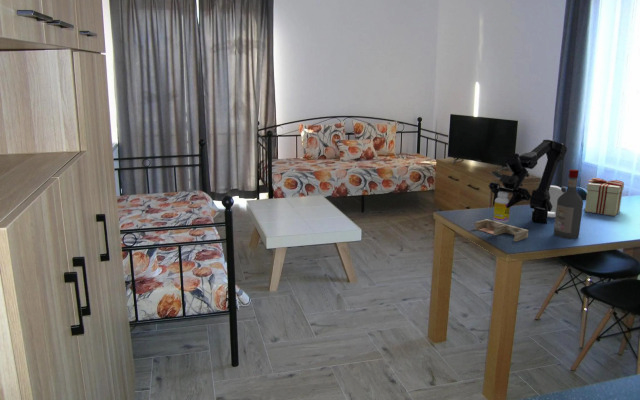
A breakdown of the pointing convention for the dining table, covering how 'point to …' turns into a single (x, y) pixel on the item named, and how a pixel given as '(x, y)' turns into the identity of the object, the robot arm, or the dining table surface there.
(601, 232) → the dining table surface
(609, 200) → the gift box
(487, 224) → the rack
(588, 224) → the dining table surface
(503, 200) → the supplement bottle
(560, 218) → the liquor
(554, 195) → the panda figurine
